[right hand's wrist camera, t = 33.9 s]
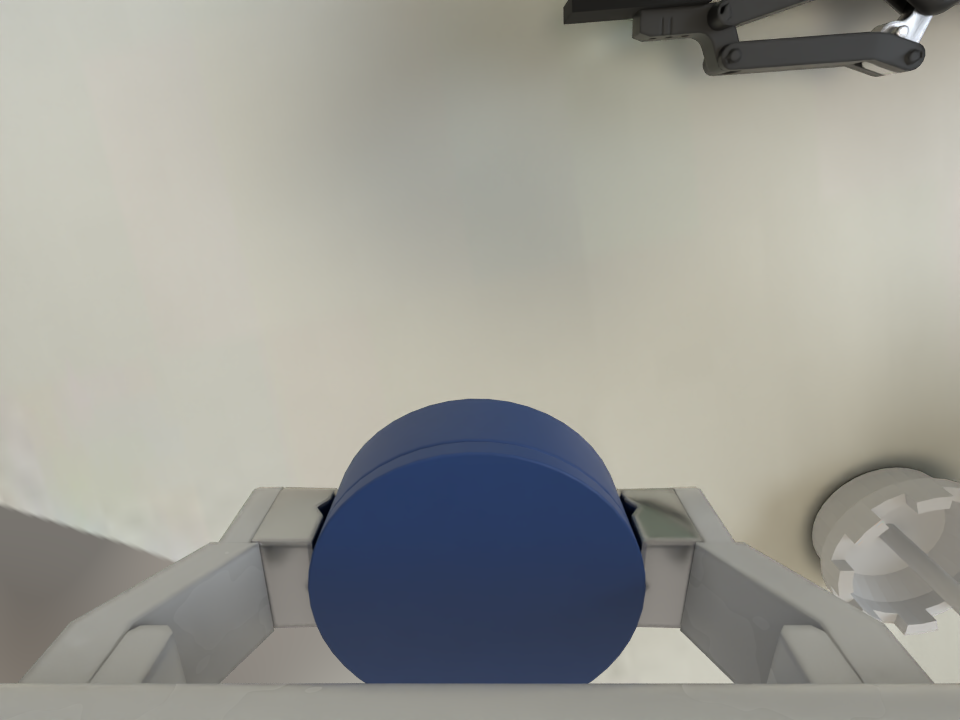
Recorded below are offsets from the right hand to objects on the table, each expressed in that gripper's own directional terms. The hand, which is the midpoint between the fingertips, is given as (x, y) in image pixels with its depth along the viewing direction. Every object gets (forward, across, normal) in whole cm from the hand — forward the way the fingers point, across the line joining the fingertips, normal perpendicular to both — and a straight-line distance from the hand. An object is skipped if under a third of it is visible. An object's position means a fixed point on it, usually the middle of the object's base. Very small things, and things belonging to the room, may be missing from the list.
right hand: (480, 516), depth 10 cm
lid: (-2, 0, 0) cm, 2 cm away
